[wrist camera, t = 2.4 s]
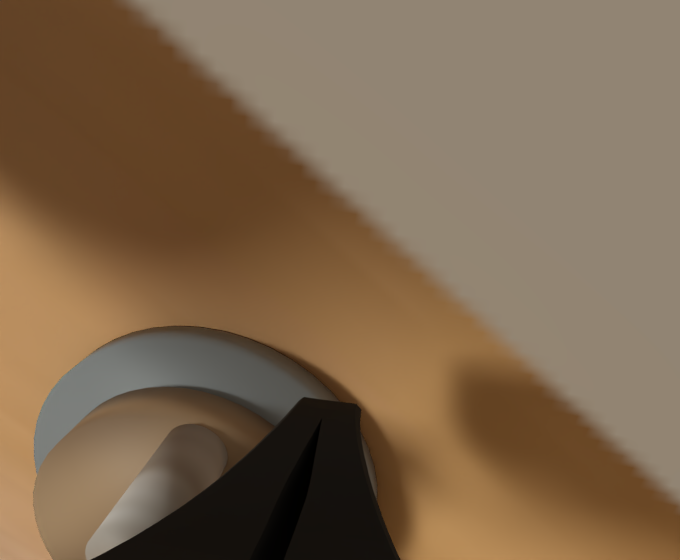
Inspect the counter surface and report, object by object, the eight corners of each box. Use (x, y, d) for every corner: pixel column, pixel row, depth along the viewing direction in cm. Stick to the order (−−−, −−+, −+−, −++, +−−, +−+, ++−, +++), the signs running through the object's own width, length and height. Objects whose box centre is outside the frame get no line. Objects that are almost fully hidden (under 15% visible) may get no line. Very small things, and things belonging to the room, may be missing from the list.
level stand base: (-4, 445, 19) (-185, 594, 13) (194, 251, 14) (54, 348, 9) (220, 637, 21) (145, 837, 15) (450, 514, 16) (466, 728, 11)
